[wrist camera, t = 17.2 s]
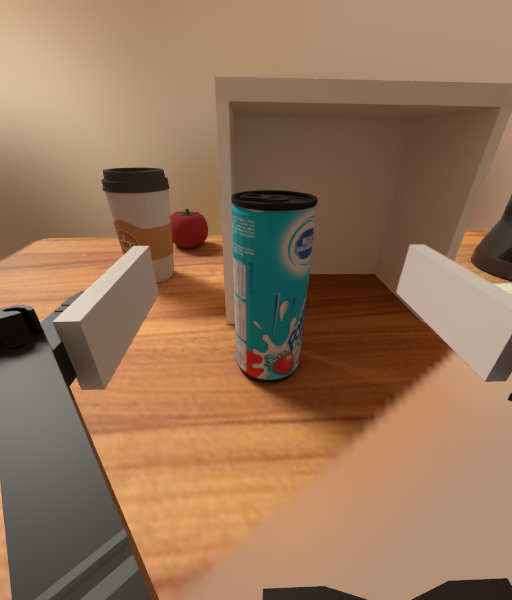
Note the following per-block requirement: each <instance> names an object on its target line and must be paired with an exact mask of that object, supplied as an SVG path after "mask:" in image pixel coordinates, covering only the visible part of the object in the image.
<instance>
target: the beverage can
mask: <svg viewBox="0 0 512 600" xmlns="http://www.w3.org/2000/svg"><path fill="white" fill-rule="evenodd" d="M317 201H318V198H317V197H316V196H314V195H311V194H307V193H302V192H294V191H281V190H257V191H246V192H240V193H236V194H234V195H232V196H231V202H232V203H233V206H232V248H233V281H234V310H235V339H236V360H237V363H238V366H239V368H240V369H241V371H242V372H243V373H244V374H245V375H246V376H248V377H250V378H251V379H254V380H256V381H260V382H278V381H281V380H284V379H286V378H288V377H289V376H290V375H291V374H292V373H293V372H294V371H295V369H296V368H297V366H298V364H299V360H300V349H301V341H302V333H303V324H304V316H305V307H306V299H307V290H308V282H309V273H310V264H311V256H312V247H313V238H314V228H315V219H316V208H315V206H316V205H317Z"/></svg>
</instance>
